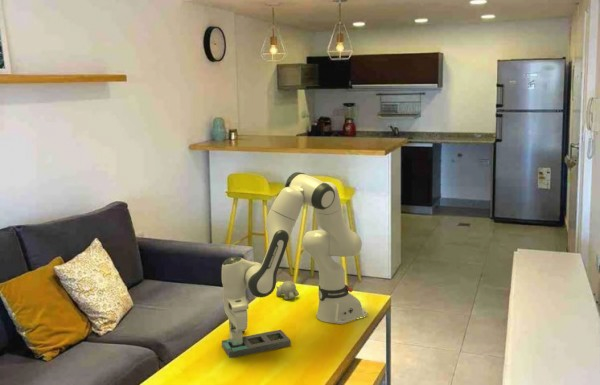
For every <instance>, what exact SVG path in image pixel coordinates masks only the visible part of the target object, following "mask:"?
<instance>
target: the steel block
mask: <svg viewBox="0 0 600 385" xmlns="http://www.w3.org/2000/svg"><path fill="white" fill-rule="evenodd" d="M228 332H229V339H230V347H231V348H235V347H240V346H243V338H242V337H243V336H242V337H241V338H238V337H237V334H236V332H237V329H231V330H230V329H229V331H228Z"/></svg>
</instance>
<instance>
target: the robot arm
mask: <svg viewBox="0 0 600 385" xmlns="http://www.w3.org/2000/svg"><path fill="white" fill-rule="evenodd" d="M305 204H306V205H308V206H310V207H312V208H313V209H314V216H315V223H316V224H317V226H318V227H319V229H315V230H314V229H313V230H309V231H307V232H306V233H305V234H304V236H303V237H302V241H301V242H302V244H301V245H302V248H303V250H304V251H305V252H306V254H308V255H309V256H310V257H311V258H312V259H313V260H314V262H315V264H316V266H317V269H318V276H319V277H318V278H319V285H318V292H317V293H318V306H317V307H318V308H317V312H316V316H315V317H316V319H317V320H319V321H321V322H323V323H328V324H329V323H332V324H338V325H345V324H348V323H350V322H349V321H351V322H353V321H352V320H354V321H356V320H355V319H357V318H360V317H364V316H367V317H368V313H367V310H366V309H364V307H362V306H363V305H362V303H361V301H360V300H359V298H357V297H356V296H354V295H353V294H351V293H352V292H353V290H354V288H353V287H351V286H348V285H347V284H346V282H345V281H346V279H345V278H346V277H345V276H346V270H345V269H344V267H343V266H342V264H340V263H339V262H336V261H335V260H334V258H333V257H340V258H342V257H343V258H348V257H356V256H358V255H359V253H360V252H361V251H362V246H363V244H362V243H363V242H362V238H361V237H360V236H359V234H358V233H356V232H354V231H353V230H352V229H351V228H349V227H348V225H347V224H346V222H345V221H344V218H343V211H342V203H341V197H340V195H339V191H338V188H337V186H336V184H334V183H333V182H332V181H322V180H321V179H318V178H317V177H315V176H312V175H308V174H306V173H304V172H300V171H297V172H293V173H292V174H291V175H290V176H288V177H287V179H286V182H285V184H284V188H282V189H281V191H279V193H278V195H276V198H275V200H274V201H273V203H272V205H271V207H270V209H269V212H268V214H267V216H266V219H265V223H264V224H265V225H264V226H265V230H266V233H267V237H268V247H267V250H266V253H265V255H264V258H263V261H262V262H260V261H259V262H258V261H252V260H251V261H250V260H246V259H244V258H242V257H241V256H231V257H227V258H226V259H225V260H223V262H222V265H221V283H222V292H221V293H222V304H223V309H224V313H225V315H226V316H227V317H228V323H229V322H230V327H231V328H235V327H236V329H237V332H236V334H237V337H238V338H241V337H243V334H242V331H243V330H245V331H246V330H247V328H248V310H249V303H248V300H247V295H246V294H247V293H246V290H247V289H249V291H250V293H251V295H253V296H254V297H256V298H265V297H266V298H267V297H268V296H270V295H271V294H273V292H274V291H275V290H276V286H277V285H276V284H277V274H278V270H279V268H280V265H281V263H282V260H283V258H284V255H285V252H286V249H287V247H288V243H289V241H290V240H289V239H290V238H291V234H292V232H293V229H294V228H295V225H296V222H297V220H298V219H299V216H300V213H301V211H302V210H301V209H302V207H303V206H304V205H305ZM364 318H365V317H364ZM347 322H348V323H347ZM230 327H229V328H230Z"/></svg>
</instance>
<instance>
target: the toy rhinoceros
mask: <svg viewBox="0 0 600 385" xmlns="http://www.w3.org/2000/svg"><path fill="white" fill-rule="evenodd" d="M275 288H276V290H275V295H276V297H278V298H279V297H282V296H284V300H286V301H288V300H292V299H294V298H295V297H297V296H300V294H299V291H298V289H297V287H296V284H295V282H294V281H292V280H286V281H284V282H283V283H282V284H280V285H279V286H277V285H276V286H275Z"/></svg>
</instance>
